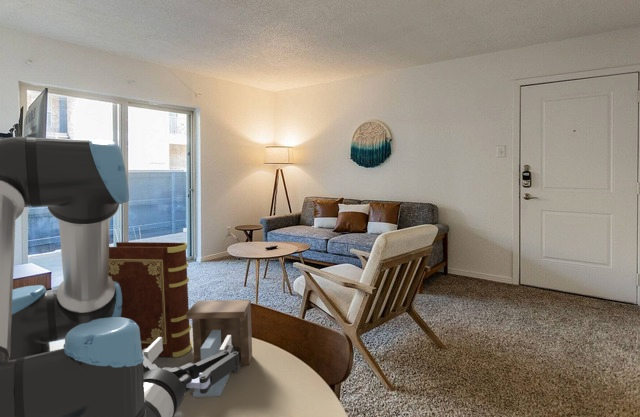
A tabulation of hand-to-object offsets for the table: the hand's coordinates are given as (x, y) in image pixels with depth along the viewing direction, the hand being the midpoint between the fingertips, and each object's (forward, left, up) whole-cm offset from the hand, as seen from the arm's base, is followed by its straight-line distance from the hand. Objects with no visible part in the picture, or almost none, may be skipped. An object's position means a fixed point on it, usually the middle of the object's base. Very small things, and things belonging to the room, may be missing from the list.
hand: (195, 342), depth 75 cm
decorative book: (-22, +31, -16) cm, 41 cm away
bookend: (0, +12, -15) cm, 20 cm away
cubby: (0, +21, -15) cm, 26 cm away
